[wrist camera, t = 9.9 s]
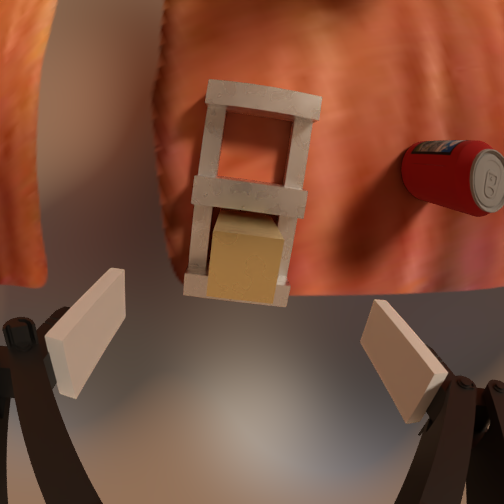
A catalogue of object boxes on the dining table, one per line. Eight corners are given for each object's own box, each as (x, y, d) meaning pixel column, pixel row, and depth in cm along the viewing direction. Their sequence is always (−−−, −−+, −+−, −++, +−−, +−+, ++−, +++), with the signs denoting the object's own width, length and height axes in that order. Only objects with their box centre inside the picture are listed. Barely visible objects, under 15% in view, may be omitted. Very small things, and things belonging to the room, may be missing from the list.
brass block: (220, 208, 31) (213, 230, 21) (270, 215, 31) (284, 239, 22) (215, 255, 32) (206, 296, 23) (262, 261, 33) (272, 303, 23)
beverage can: (447, 151, 30) (518, 156, 18) (437, 205, 32) (506, 228, 20) (403, 133, 29) (473, 128, 18) (392, 191, 31) (459, 210, 20)
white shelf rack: (212, 89, 27) (208, 79, 24) (312, 104, 28) (322, 96, 24) (189, 279, 33) (183, 295, 29) (280, 290, 34) (286, 307, 30)
